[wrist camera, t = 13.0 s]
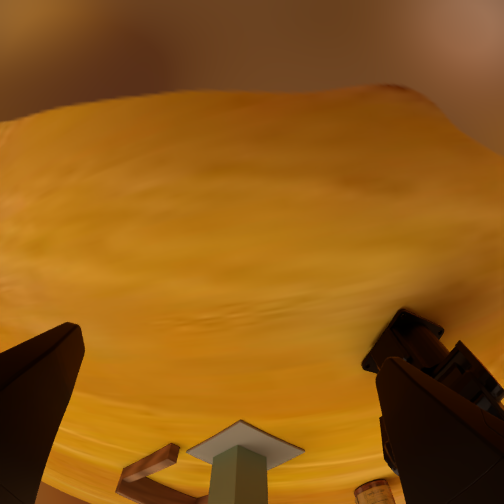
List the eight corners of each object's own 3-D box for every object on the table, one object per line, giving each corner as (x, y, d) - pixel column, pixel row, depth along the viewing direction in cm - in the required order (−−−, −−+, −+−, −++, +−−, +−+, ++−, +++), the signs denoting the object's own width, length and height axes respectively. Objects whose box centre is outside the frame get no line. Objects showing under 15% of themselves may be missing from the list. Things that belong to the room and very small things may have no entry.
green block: (237, 444, 27) (233, 519, 17) (266, 457, 28) (268, 527, 18) (213, 456, 28) (205, 525, 18) (241, 468, 29) (239, 533, 19)
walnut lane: (171, 442, 27) (163, 475, 23) (260, 480, 30) (260, 509, 25) (123, 468, 31) (115, 492, 26) (198, 501, 34) (195, 524, 29)
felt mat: (240, 419, 26) (240, 421, 25) (304, 450, 28) (304, 451, 27) (186, 450, 28) (186, 452, 28) (248, 476, 30) (248, 478, 30)
